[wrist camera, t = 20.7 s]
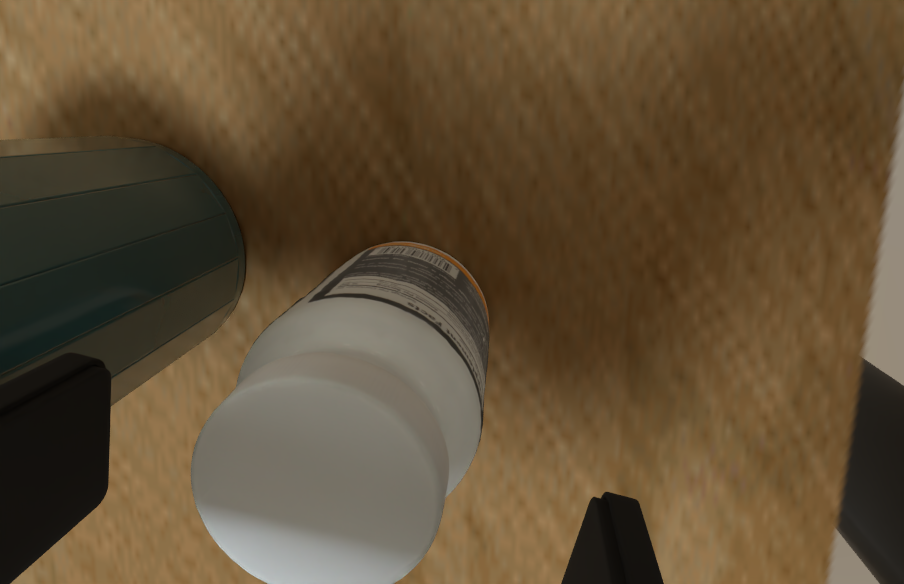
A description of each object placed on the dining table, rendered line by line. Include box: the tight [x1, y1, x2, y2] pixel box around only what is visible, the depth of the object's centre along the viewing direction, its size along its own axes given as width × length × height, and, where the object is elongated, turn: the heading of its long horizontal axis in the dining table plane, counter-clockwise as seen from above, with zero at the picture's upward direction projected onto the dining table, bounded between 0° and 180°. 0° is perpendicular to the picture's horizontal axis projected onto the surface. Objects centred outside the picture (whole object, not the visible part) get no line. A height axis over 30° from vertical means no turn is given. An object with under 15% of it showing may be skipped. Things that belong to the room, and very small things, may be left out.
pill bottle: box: [191, 241, 489, 584], centre depth 15 cm, size 6×6×10 cm
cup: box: [0, 136, 245, 406], centre depth 15 cm, size 8×8×10 cm
